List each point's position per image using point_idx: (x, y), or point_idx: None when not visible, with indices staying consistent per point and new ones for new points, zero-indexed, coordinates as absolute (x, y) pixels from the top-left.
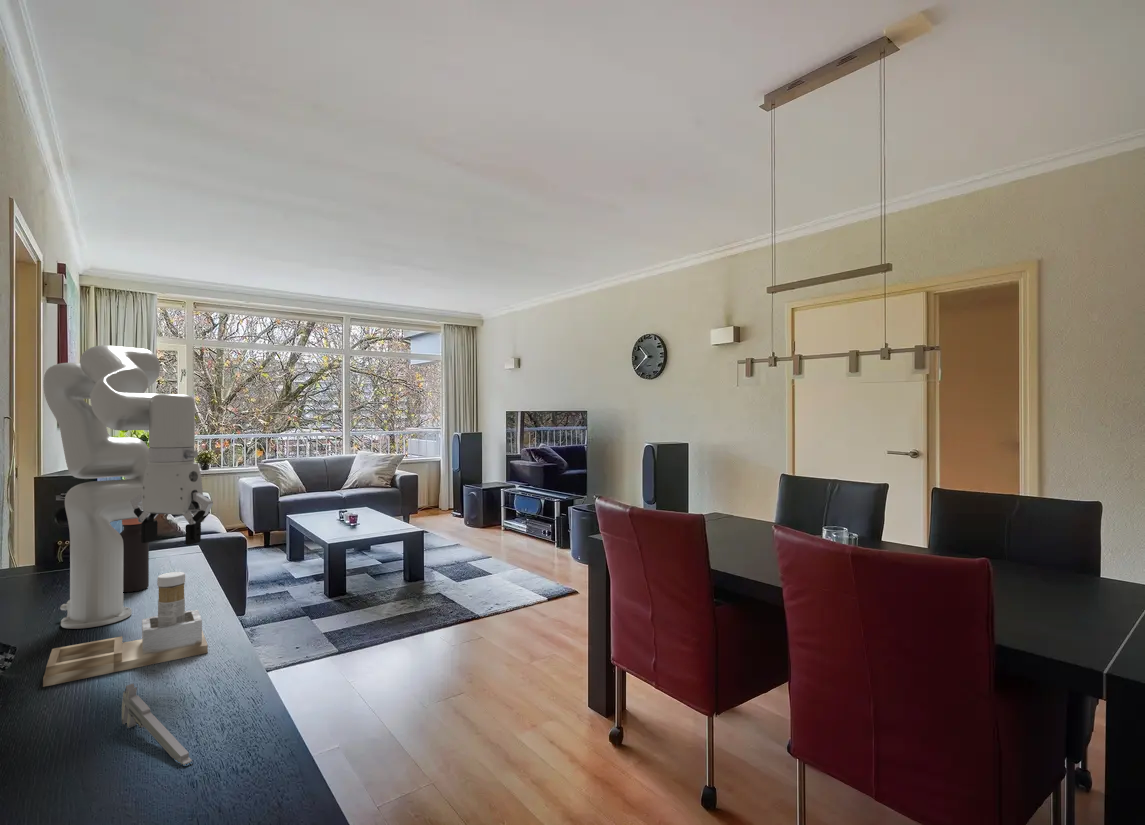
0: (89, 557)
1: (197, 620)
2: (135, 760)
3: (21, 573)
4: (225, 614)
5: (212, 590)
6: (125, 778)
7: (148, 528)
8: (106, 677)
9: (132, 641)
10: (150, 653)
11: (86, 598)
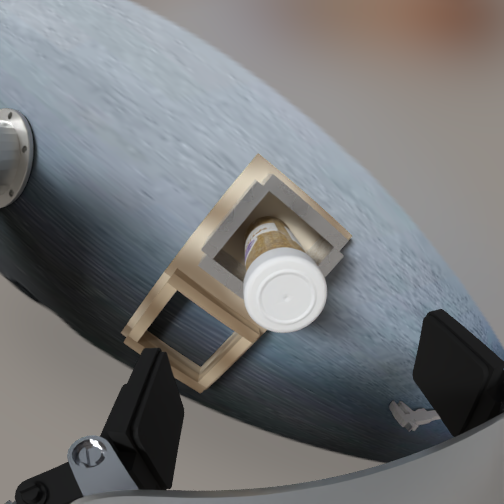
0: None
1: (341, 245)
2: (431, 421)
3: None
4: (197, 39)
5: None
6: (435, 430)
7: (166, 450)
8: (264, 346)
9: (183, 253)
10: None
11: None
